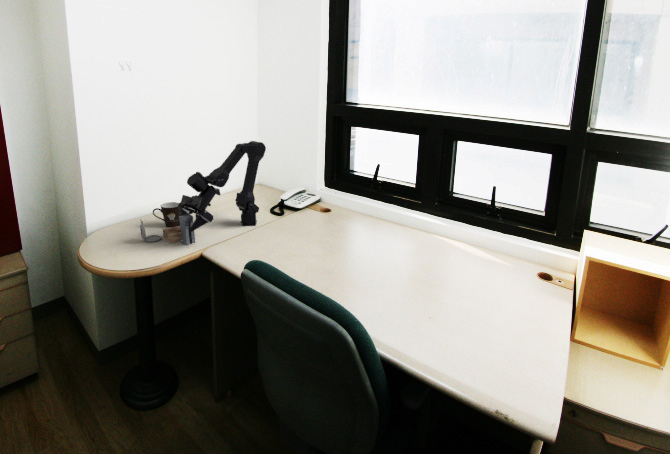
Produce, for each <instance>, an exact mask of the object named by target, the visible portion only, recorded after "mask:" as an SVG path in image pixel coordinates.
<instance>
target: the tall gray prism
mask: <svg viewBox="0 0 670 454" xmlns="http://www.w3.org/2000/svg"><path fill="white" fill-rule="evenodd" d="M179 221H180V231H181V241H180V242H181V243H182V244H183V243H184V245H185V244H186V246H190V244H192V243H193V244H195V243H196V238H195V237H196V235H195V230H194V231H192V232H191V231H190V228H191V226H192V225H193V223H194V216H193V215H192V214H190V215H189V214H185V215H182V216H179ZM190 242H191V243H190Z"/></svg>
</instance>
